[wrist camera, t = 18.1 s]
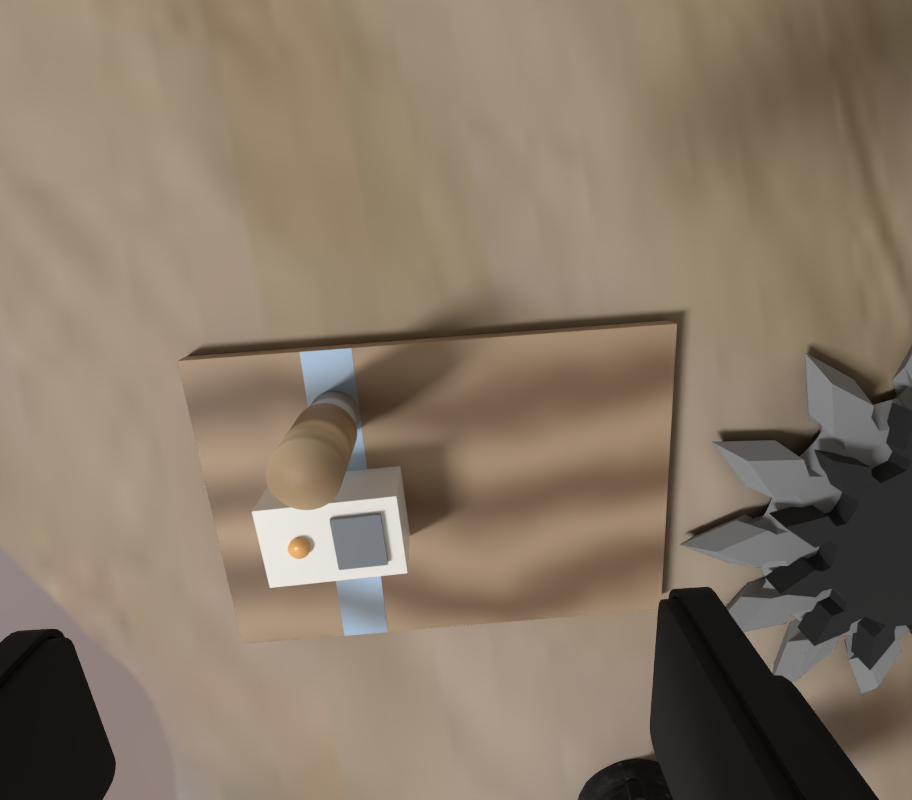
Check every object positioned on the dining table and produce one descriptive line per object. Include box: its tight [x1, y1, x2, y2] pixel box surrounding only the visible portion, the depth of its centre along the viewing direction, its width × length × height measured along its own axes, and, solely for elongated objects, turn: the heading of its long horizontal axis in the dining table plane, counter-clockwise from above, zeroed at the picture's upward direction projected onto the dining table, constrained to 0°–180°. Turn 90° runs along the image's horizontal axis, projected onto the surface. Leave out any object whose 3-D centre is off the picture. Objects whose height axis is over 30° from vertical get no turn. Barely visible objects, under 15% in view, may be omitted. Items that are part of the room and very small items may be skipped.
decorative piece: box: [680, 346, 912, 694], centre depth 37 cm, size 30×4×30 cm
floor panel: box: [177, 320, 677, 644], centre depth 35 cm, size 20×29×1 cm
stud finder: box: [252, 466, 410, 588], centre depth 33 cm, size 5×8×4 cm, turn 95°
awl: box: [266, 391, 360, 510], centre depth 29 cm, size 3×3×8 cm
